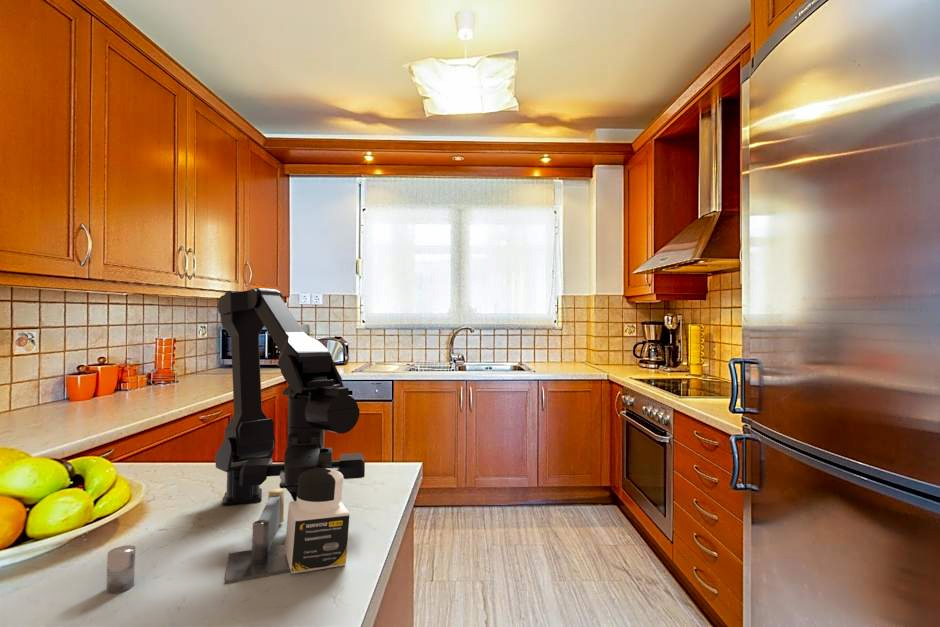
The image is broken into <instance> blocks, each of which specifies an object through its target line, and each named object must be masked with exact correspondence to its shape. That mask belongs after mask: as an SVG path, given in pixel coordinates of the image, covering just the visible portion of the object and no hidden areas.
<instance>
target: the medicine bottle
mask: <svg viewBox="0 0 940 627" xmlns="http://www.w3.org/2000/svg"><path fill="white" fill-rule="evenodd" d="M343 484H344V478H343V475H342V473H341V472H339V471H337V470H334V469H330V468H315V469H310V470H307V471H305V472H303V473H301V475H300V476H299V478H298V490H297V501H294V500H292V501H290V502H288V510H287V520H286V530H285V531H286V532H285V533H286V534H285V544H284V545H285V553H286V557H287V560H288V563H289V567H290V570H291V572H290V573H291V574H298V573H304V572H312V571H317V570H324V569H333V568H338V567H343V566H345V565H346V564H347V556H348V543H349V542H348V540H349V526H350V512H349V510H348V509H347V508H346V506H345V505H344V503H343V501H342V500H343V499H342V498H343Z"/></svg>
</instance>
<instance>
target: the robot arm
mask: <svg viewBox="0 0 940 627" xmlns="http://www.w3.org/2000/svg"><path fill="white" fill-rule="evenodd" d="M217 311H218V314H220V315H219V316H220V322H221V326H222V328H224V330H225V331H226V332H227V334H228V335H229V337H230V340H231V342H230V345H231V365H232V366H231V369H232V370H231V372H232V397H233V398H232V399H233V415H232V416H231V418H230V420H229V422H228V423H227V425H226V426H225V428H224V439H223V441H222V443H221V445H220V446H219V448H218V450H217V452H216V454H215V455H214V463H215V468H216V469H218V470H221V471H223V472H224V473H226V491H225V492H224V495H223V500H222V506H229V505H238V504H246V503H255V502H256V503H257V502H261V501H262V500H263V499H262V498H263V495H262V494H263V491H262V490H263V489H262V487H261V485H262V484H263V483H264V482H265V481H266V480H267V478H268V477H279V479H280V482H279V485H278V486H279V489H286V491H288V493H289V494H290V496H291V497H292V498H291V499H292V501H297V490H298V478H299V476H300V475H301V473H303V472H305V471H307V470H310V469H315V468H330V469H334V470H337V471H339V472H341V473H342V475H343V480H352V479H363V478H364V477H365V471H366V470H365V467H366V466H365V464H366V462H365V457H364V456H365V455H363V454H362V453H361V452H354V453H353V452H352V453H340V456H339V458H340V459H335V460H333V447H325V431H326V432H330V433H336V434H342V435H343V434H346V433H349V432H351V431H352V430H353V429H354V428H355V426H356V425H357V423H358V422H359V418H360V407H359V404H358V403H357V401H356V399H355V398H354V397H353V396H352V395H350V394H349V393H350V389H349V387H347V386H344V383H343V382H342V380H343V378H342V376H341V375H340V372H339V371H338V369H337V367H336V364H335V362H334V358H333V356H332V353H331V352H330V351H329V349H328V348H327V347H326V346H324V344H323V343H321V342H320V341H319V340H317V339H315V338H312V337H311V336H309V335H307V334H306V332H304V330H303V328H302V327H301V325H300V324H299V322H298V321H297V319H296V318H295V317H294V315H293V313H292V312H291V310H290V309H289V307H288V306H287V304H286V303H285V302H284V298H283V294H282V292H281V291H279V290H278V289H276V288H275V289H274V288H263V287H262V288H261V287H255V288H250V289H248V290H242V291H240V290H226V291H225V293H224V294H223V295H221V296H220V297H219V298H218V302H217ZM264 327H265V329H266V331H267V332H268V334H269V336H270V338H271V339H272V340H273V342H274V344H275V346H276V347H277V349H278V352H279V356H278V360H277V364H278V368H279V369H280V372H281V375H282V377H283V378H284V380H285V382H286V383H287V384H288V386H287V387H285V388H284V390H282V395H283V396H287V397H288V399H287V436H286V437H287V439H286V441H287V442H286V443H287V444H286V449H285V452H284V458H283V459H284V460H283V461H284V462H282V463H281V462H279V463H273V455H274V450H275V447H276V446H275V445H276V438H275V437H276V436H275V426H274V425H275V423H274V421H273V419H272V418H269V417H267V415H266V414H265V413H264V411H263V406H262V405H263V402H262V399H263V398H262V380H261V378H262V377H261V357H260V340H259V337H260V334H261V332H262V330H263V329H264ZM260 487H261V488H260Z"/></svg>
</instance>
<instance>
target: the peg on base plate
mask: <svg viewBox="0 0 940 627" xmlns="http://www.w3.org/2000/svg"><path fill="white" fill-rule="evenodd" d="M258 520H259V519H258ZM258 520H256V521H254V522H252V535H251V536H252V538H251V540H252V541H251V543H252V545H251V549H248V550H242V551H236V552H229V553H228V557H227V558H228V559H227V566H226V572H225V579H224V584H230V583H235V582H242V581H247V580H254V579H258V578H263V577H270V576H274V574H275V575H280V573H281V574H286V573H289V572H288V571H291V570H290V567H289V563H288V560H287V557H286V553H285V544H279V545H273V546H272V545H271V547H270V550H269V552H268V526H269V521H267V520H259V521H258ZM285 572H286V573H285ZM269 575H270V576H269Z"/></svg>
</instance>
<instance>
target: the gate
mask: <svg viewBox="0 0 940 627" xmlns="http://www.w3.org/2000/svg"><path fill="white" fill-rule="evenodd" d="M284 489H285V488H273V489H270V490H268V492H267V493H268V494H267V495H268V496H267V498H268V499H267V500H268V501H267V502H266V504H265V506H264V508H263V510H262V512H261V514H260V516H259V518H258V520H257V521H259V520H267V521H269V526H268V552H269V550H270V547H272V544H273V542H274V540H275V536H276V534H277V532H278V529H279V527H280V524H282V523H283V522H284V519H285V518H284V514H285V512H284V511H285V510H284V508H285V490H284Z"/></svg>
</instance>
